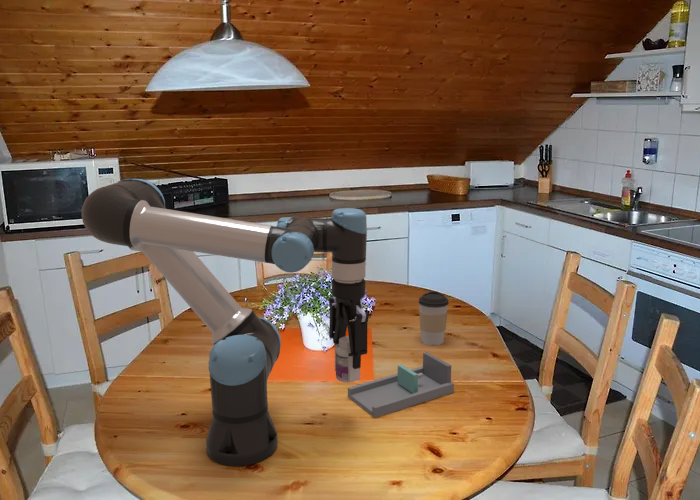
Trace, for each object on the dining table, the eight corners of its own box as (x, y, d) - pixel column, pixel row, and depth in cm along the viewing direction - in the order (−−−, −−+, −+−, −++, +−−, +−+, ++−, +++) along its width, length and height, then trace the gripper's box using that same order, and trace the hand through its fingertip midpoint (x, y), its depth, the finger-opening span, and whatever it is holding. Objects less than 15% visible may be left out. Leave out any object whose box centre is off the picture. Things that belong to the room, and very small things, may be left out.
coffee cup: (447, 347, 184) (448, 300, 180) (417, 345, 185) (417, 298, 182) (447, 336, 193) (448, 290, 189) (418, 334, 194) (419, 289, 190)
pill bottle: (345, 371, 145) (346, 333, 143) (363, 377, 142) (364, 338, 140) (330, 378, 141) (331, 339, 139) (348, 385, 138) (349, 345, 136)
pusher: (413, 394, 152) (414, 375, 151) (397, 383, 158) (397, 365, 157) (430, 388, 155) (430, 370, 154) (413, 378, 161) (413, 360, 160)
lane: (375, 417, 144) (375, 390, 142) (347, 396, 154) (347, 371, 152) (453, 392, 156) (454, 367, 154) (423, 374, 166) (423, 350, 165)
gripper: (386, 287, 130) (383, 387, 136) (342, 266, 145) (340, 357, 151) (356, 292, 126) (354, 395, 132) (314, 270, 141) (314, 363, 147)
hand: (347, 374), depth 141 cm, fingers closed on pill bottle, 5 cm apart
